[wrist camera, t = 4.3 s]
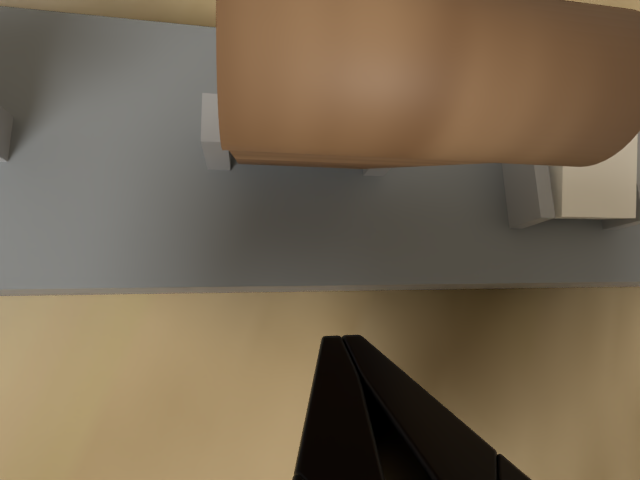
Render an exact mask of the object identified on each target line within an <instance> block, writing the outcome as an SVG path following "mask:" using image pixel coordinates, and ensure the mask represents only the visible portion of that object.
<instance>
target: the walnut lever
mask: <svg viewBox="0 0 640 480" xmlns="http://www.w3.org/2000/svg"><path fill="white" fill-rule="evenodd" d="M216 65H217V98H218V119H219V133H220V142H221V148H222V150H228V151H230V152H231V154H232V155H233V157H234V158H235V160H236V161H237V162H238V164H251V165H275V166H299V167H323V168H348V169H374V168H396V167H418V166H439V165H461V164H483V163H506V164H527V165H549V166H570V167H586V166H591V165H595V164H598V163H601V162H603V161H605V160H607V159H609V158H611V157H612V156H614V155H615V154H617V153H618V152H619V151H621V150H622V149H623V148H624V147H625V146H626V145H627V144H629V143H630V142H631V141H632V139H633V138H634V137H635V136H636V135H637V134H638V133H639V131H640V12H639V11H636V10H633V9H626V8H619V7H611V6H603V5H596V4H588V3H581V2H573V1H565V0H216Z"/></svg>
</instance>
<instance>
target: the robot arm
mask: <svg viewBox="0 0 640 480" xmlns="http://www.w3.org/2000/svg"><path fill="white" fill-rule="evenodd" d="M292 480H531V479H530V478H529V477H528V476H526V475H525V474H524V473H523V472H522V471H520V470H519V469H518V468H517V467H516V466H514V465H513V464H512V463H511V462H510V461H509V460H507V459H506V458H505V457H504V456H503V455H501V454H498V455H497V452H496V450H495V449H493V448H492V447H491V446H490V445H489V444H488V443H486V442H485V441H484V440H483V439H482V438H481V437H479V436H478V435H477V434H476V433H475V432H474V431H472V430H471V429H470V428H469V427H468V426H467V425H465V424H464V423H463V422H462V421H461V420H460V419H458V418H457V417H456V416H455V415H454V414H453V413H451V412H450V411H449V410H448V409H447V408H445V407H444V406H443V405H442V404H441V403H440V402H438V401H437V400H436V399H435V398H434V397H433V396H431V395H430V394H429V393H428V392H427V391H426V390H424V389H423V388H422V387H421V386H420V385H419V384H417V383H416V382H415V381H414V380H413V379H412V378H410V377H409V376H408V375H407V374H406V373H405V372H403V371H402V370H401V369H400V368H399V367H398V366H396V365H395V364H394V363H393V362H392V361H390V360H389V359H388V358H387V357H386V356H385V355H383V354H382V353H381V352H380V351H379V350H378V349H376V348H375V347H374V346H373V345H372V344H371V343H369V342H368V341H367V340H366V339H365V338H364V337H362V336H361V335H344V336H343V337H342V338H341V337H340V336H324V337H323V338H322V340H321V344H320V349H319V354H318V359H317V364H316V369H315V374H314V379H313V383H312V388H311V393H310V398H309V403H308V408H307V413H306V418H305V422H304V427H303V432H302V437H301V442H300V447H299V452H298V457H297V461H296V466H295V471H294V476H293V479H292Z"/></svg>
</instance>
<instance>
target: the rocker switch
mask: <svg viewBox="0 0 640 480" xmlns="http://www.w3.org/2000/svg"><path fill="white" fill-rule="evenodd" d="M637 142H638V134H637V135H636V136H635V137H634V138H633V139H632V141H631V142H630V143H629V144H627V145H626V146H625V147H624V148H623V149H622V150H621V151H619V152H618V153H617V154H615V155H614V156H612V157H611V158H609V159H607V160H605V161H603V162H601V163H598V164H595V165H591V166H586V167H570V166H549V165H548V167H549V174H550V181H551V188H552V196H553V203H554V210H555V217H556V218H559V219H628V218H636V185H637Z"/></svg>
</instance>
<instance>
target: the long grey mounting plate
mask: <svg viewBox="0 0 640 480" xmlns="http://www.w3.org/2000/svg"><path fill="white" fill-rule="evenodd" d="M637 286H640V131H639V133H638V142H637V185H636V218H628V219H559V218H556V217H555V210H554V203H553V196H552V188H551V181H550V174H549V167H548V165H527V164H506V163H483V164H461V165H439V166H418V167H396V168H374V169H348V168H323V167H299V166H275V165H251V164H238V162H237V161H236V160H235V158H234V157H233V155H232V154H231V152H230V151H228V150H222V148H221V142H220V133H219V119H218V98H217V65H216V28H215V27H205V26H195V25H185V24H175V23H165V22H155V21H145V20H135V19H125V18H115V17H105V16H95V15H85V14H75V13H65V12H55V11H45V10H35V9H25V8H14V7H4V6H0V296H25V295H93V294H161V293H229V292H297V291H365V290H433V289H501V288H569V287H637Z"/></svg>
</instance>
